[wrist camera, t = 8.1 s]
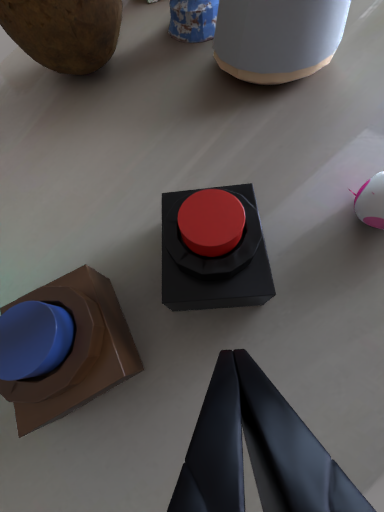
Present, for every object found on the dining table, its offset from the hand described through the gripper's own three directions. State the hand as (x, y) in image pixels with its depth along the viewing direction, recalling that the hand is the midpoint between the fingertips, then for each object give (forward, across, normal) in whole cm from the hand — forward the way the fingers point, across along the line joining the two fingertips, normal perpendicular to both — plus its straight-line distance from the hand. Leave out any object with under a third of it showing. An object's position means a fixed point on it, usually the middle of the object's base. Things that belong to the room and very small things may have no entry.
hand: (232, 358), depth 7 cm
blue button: (+6, +13, +4) cm, 15 cm away
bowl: (+45, +20, -26) cm, 56 cm away
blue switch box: (+11, +13, +8) cm, 19 cm away
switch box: (+16, 0, +3) cm, 16 cm away
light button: (+12, 0, -1) cm, 12 cm away
